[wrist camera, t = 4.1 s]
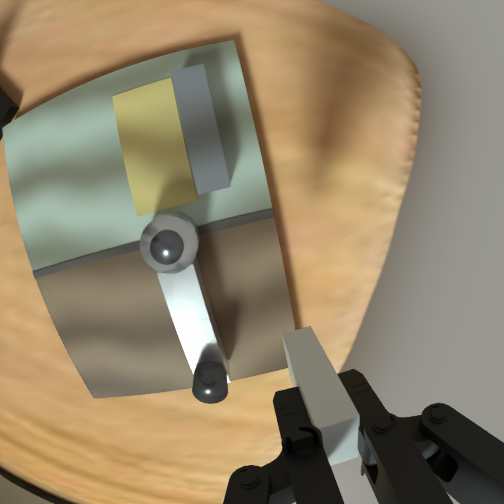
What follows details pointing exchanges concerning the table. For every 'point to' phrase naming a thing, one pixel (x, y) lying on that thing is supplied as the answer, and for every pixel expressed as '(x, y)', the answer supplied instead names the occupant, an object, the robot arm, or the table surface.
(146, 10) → the table surface
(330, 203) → the table surface
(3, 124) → the figurine
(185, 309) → the bar
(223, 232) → the door board
